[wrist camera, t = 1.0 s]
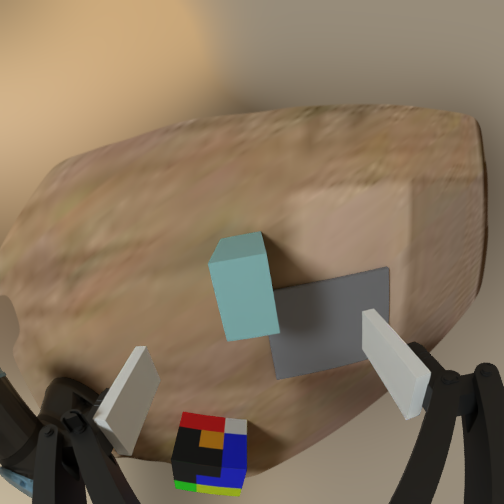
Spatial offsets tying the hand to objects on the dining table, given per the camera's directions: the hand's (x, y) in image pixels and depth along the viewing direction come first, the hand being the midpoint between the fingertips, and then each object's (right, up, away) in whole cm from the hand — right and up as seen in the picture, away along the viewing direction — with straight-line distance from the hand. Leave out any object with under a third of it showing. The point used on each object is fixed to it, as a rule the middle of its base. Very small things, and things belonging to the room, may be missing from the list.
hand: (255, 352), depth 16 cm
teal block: (-1, +4, +16) cm, 17 cm away
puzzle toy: (-7, -24, +23) cm, 34 cm away
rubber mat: (+10, -4, +18) cm, 21 cm away
